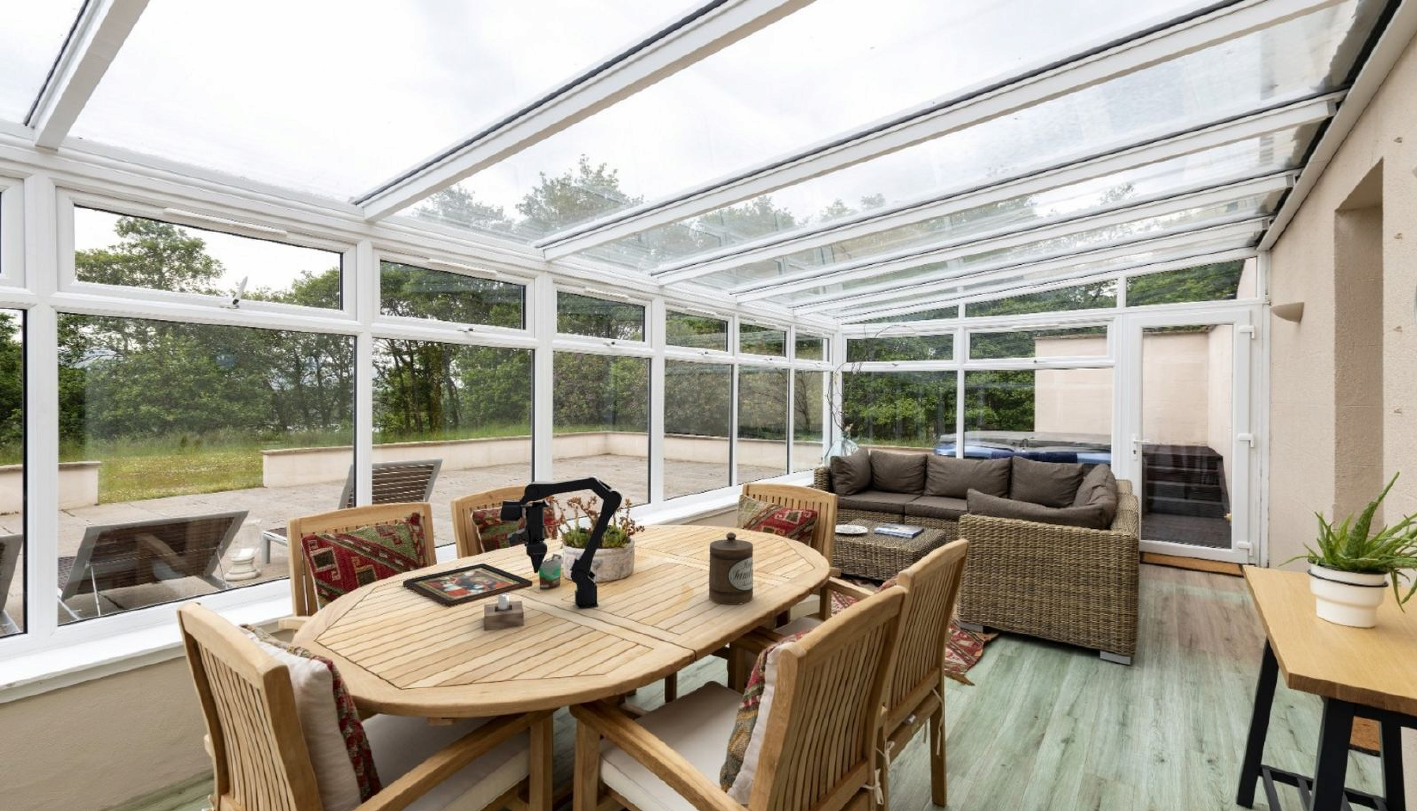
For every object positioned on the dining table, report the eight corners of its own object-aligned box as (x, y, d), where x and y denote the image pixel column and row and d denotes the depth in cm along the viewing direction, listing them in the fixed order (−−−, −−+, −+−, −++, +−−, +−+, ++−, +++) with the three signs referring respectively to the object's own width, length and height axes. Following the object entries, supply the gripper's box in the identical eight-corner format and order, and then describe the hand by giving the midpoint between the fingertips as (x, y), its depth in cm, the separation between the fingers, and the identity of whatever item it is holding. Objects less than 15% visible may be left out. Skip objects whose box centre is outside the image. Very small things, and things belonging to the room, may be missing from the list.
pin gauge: (508, 619, 190) (508, 593, 190) (508, 622, 188) (508, 596, 187) (498, 620, 189) (498, 594, 189) (498, 623, 187) (498, 597, 186)
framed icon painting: (391, 589, 221) (391, 581, 221) (478, 567, 250) (478, 560, 250) (454, 612, 199) (454, 603, 199) (541, 585, 228) (541, 577, 228)
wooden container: (740, 607, 201) (740, 539, 201) (701, 600, 209) (701, 534, 208) (760, 595, 214) (760, 530, 214) (722, 588, 221) (722, 526, 221)
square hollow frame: (521, 613, 196) (521, 600, 195) (523, 625, 185) (523, 612, 185) (484, 617, 192) (484, 604, 192) (484, 630, 181) (484, 616, 181)
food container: (554, 591, 217) (554, 563, 217) (537, 590, 218) (537, 562, 218) (569, 581, 229) (569, 554, 229) (553, 580, 230) (553, 553, 230)
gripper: (507, 517, 208) (507, 564, 208) (509, 528, 190) (509, 579, 191) (542, 515, 212) (542, 561, 212) (547, 526, 194) (547, 576, 194)
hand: (534, 569), depth 202 cm, fingers open, 9 cm apart
